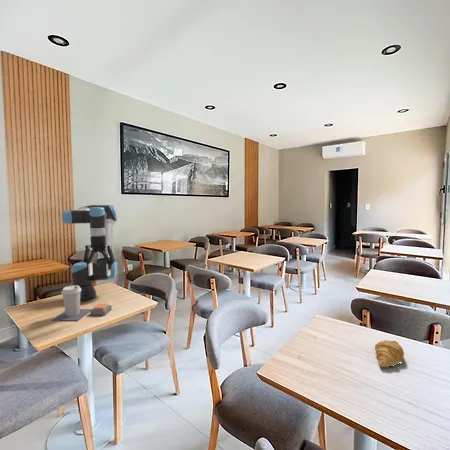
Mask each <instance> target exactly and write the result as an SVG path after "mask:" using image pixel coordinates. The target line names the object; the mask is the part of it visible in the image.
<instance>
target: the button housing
mask: <svg viewBox="0 0 450 450" xmlns="http://www.w3.org/2000/svg"><path fill="white" fill-rule="evenodd" d="M91 309H92V310H91V311H90V312H89V313H90V316H98V317H99V316H101V317H102V316H103V317H104V316H106V315H108V313H111V310H112V309H113V307H112V305H111V304H108V307H107V308H106V309H105V310H94V307H93V308H91Z"/></svg>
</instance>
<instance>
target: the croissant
mask: <svg viewBox="0 0 450 450" xmlns="http://www.w3.org/2000/svg"><path fill="white" fill-rule="evenodd" d="M374 350H375V355H376V354H377V355H376V356H378V357H377V360H379V361H378V365H379V367H381V368H390V367H389V366H393V365H397V364H398V363H399V362H402V363H403V361H404V355H405V352H404V349H403V347H402V346H401V345H400V343H398V341H396V340H381V341H379V342H377V343H376V344H375V345H374ZM397 366H398V365H397ZM393 367H394V366H393Z"/></svg>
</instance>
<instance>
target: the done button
mask: <svg viewBox="0 0 450 450" xmlns="http://www.w3.org/2000/svg"><path fill="white" fill-rule="evenodd" d="M108 305H109V303H98V304H96V305H95V306H94V307H93V308H94V310H105V309H106V308H107V307H108Z"/></svg>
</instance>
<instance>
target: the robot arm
mask: <svg viewBox="0 0 450 450" xmlns="http://www.w3.org/2000/svg"><path fill="white" fill-rule="evenodd" d="M61 217H62V219H61V220H62V222H63V224H66V225H75V224H76V225H77V224H89V233H90V244H87V245H85V246H84V248H85V250H84V255H83V260H82V261H79V262H76V263H74V264H73V265H72V266H71V273H70V274H71V282H72V283H71V284H72V285H71V286H74V285H77V286H80V288H81V292H80V302H85V301H90V300H92V299H95V298H96V297H97V291H96V288H95V286H94V282H96V281H108V280H114V279H115V278H116V276H117V272H118V261H116V258H115V256H114V254H113V253H114V252H113V249H114V247H113V245H114V243H113V241H114V240H113V237H114V236H113V235H114V234H113V233H114V231H113V230H114V229H113V228H114V227H113V226H114V225H115V223H116V222H117V221H118V218H117V212H116V207H115V205H111V204H91V205H90V204H89V205H84V206H79V208H78V209H74V210H73V209H72V210H71V209H70V210H64V211H62V215H61ZM90 250H91V251H90ZM96 253H98V258H96V259H95V260H96V261H95V262H93V261H92V260H93V259H94V257H95V255H96Z"/></svg>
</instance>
